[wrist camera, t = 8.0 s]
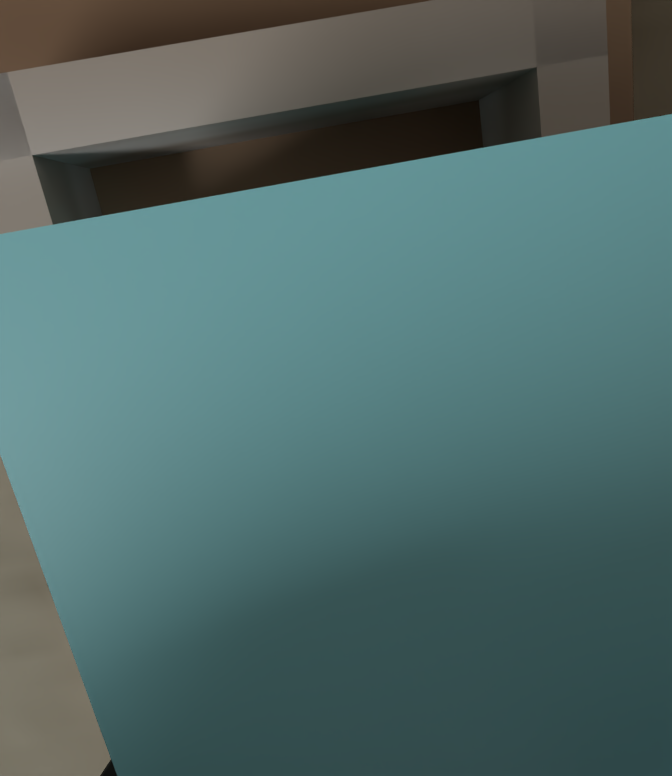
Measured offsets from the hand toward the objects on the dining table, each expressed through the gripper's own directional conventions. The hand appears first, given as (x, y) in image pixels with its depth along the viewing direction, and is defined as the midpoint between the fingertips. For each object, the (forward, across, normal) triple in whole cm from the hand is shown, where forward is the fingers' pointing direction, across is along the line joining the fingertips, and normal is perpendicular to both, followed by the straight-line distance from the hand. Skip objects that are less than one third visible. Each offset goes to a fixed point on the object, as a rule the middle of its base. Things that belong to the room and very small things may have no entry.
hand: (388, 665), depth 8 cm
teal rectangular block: (+2, 0, 0) cm, 2 cm away
